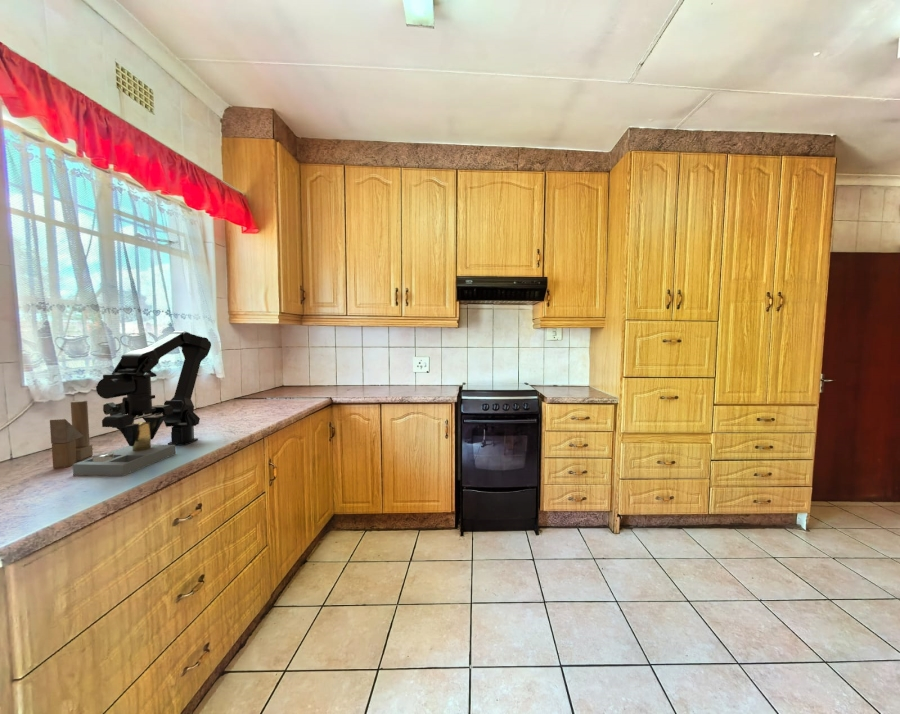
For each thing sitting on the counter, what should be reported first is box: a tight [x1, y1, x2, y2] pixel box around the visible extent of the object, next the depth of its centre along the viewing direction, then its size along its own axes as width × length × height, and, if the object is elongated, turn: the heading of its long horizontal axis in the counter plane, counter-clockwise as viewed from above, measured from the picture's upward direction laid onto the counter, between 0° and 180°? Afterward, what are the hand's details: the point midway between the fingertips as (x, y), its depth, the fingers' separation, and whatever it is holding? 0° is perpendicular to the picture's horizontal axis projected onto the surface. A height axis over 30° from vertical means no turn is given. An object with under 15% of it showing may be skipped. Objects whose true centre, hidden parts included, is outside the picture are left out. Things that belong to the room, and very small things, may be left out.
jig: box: [72, 443, 177, 477], centre depth 106 cm, size 18×14×3 cm
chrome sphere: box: [91, 452, 114, 462], centre depth 102 cm, size 4×4×4 cm
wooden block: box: [49, 399, 94, 469], centre depth 107 cm, size 4×11×18 cm, turn 17°
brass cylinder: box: [132, 421, 152, 451], centre depth 110 cm, size 4×4×8 cm
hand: (141, 442), depth 110 cm, fingers open, 6 cm apart
